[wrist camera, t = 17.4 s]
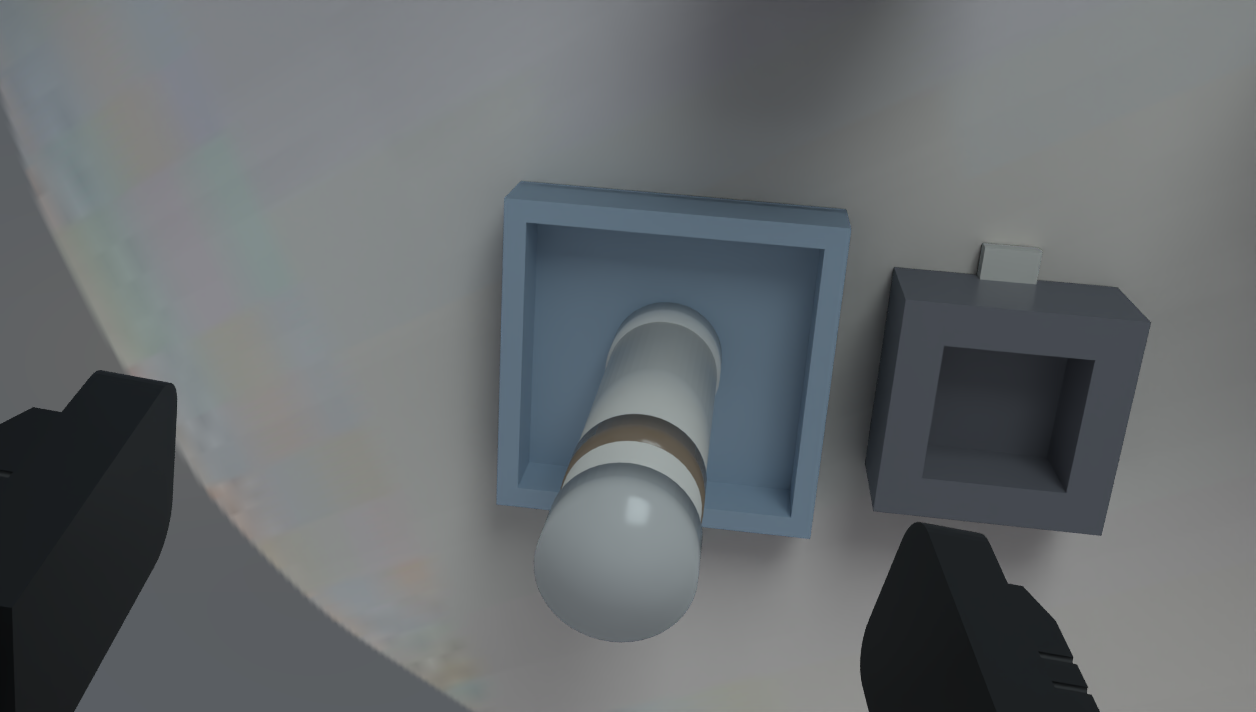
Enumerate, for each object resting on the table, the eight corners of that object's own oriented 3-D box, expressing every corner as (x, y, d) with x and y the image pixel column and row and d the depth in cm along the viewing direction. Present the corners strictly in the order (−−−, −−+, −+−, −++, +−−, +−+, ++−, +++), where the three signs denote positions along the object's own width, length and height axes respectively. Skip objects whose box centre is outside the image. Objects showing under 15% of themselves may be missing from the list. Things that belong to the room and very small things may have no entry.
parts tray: (512, 471, 48) (496, 504, 45) (520, 181, 44) (504, 198, 41) (807, 503, 47) (809, 539, 44) (846, 209, 43) (851, 228, 40)
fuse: (608, 399, 46) (530, 631, 31) (615, 296, 44) (537, 488, 29) (716, 410, 45) (690, 651, 30) (727, 308, 44) (705, 506, 29)
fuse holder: (861, 490, 46) (869, 540, 43) (898, 235, 43) (911, 265, 39) (1068, 512, 46) (1094, 565, 42) (1124, 255, 42) (1159, 287, 38)
